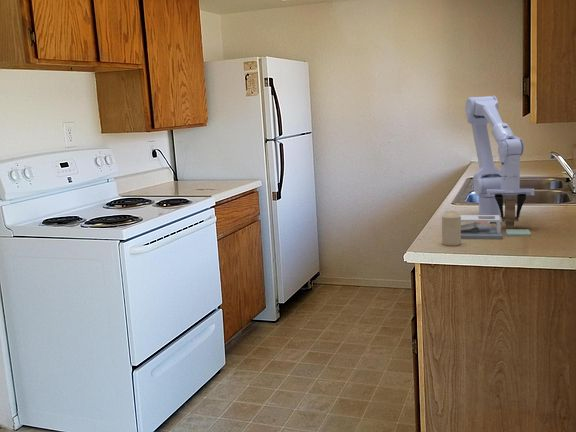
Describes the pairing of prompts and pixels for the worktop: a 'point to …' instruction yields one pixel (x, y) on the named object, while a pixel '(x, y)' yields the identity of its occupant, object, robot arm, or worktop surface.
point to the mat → (518, 232)
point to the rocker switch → (474, 225)
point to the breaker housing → (483, 231)
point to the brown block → (509, 214)
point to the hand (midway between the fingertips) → (509, 217)
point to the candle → (451, 228)
